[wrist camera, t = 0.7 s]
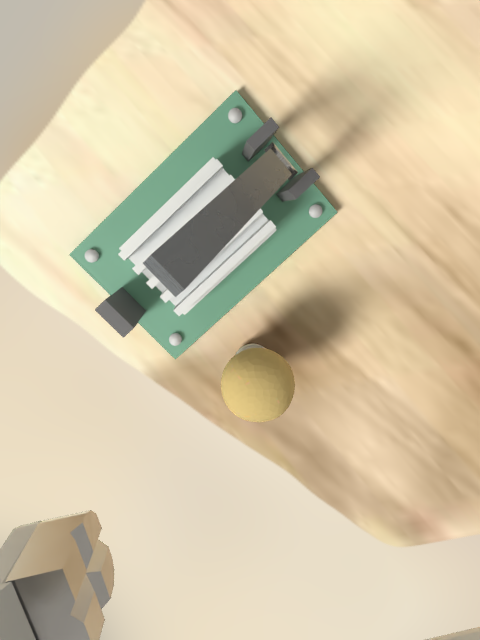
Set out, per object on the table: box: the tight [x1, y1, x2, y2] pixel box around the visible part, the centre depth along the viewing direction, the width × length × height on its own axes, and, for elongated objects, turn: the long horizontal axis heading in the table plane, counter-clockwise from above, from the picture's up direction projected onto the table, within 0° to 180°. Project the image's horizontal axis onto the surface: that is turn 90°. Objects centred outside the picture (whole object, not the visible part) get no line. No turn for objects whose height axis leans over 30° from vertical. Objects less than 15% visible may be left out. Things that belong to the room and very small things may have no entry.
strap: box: [143, 142, 298, 297], centre depth 29 cm, size 17×3×1 cm
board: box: [69, 90, 337, 359], centre depth 38 cm, size 21×14×8 cm, turn 132°
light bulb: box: [221, 343, 295, 422], centre depth 41 cm, size 6×6×10 cm
